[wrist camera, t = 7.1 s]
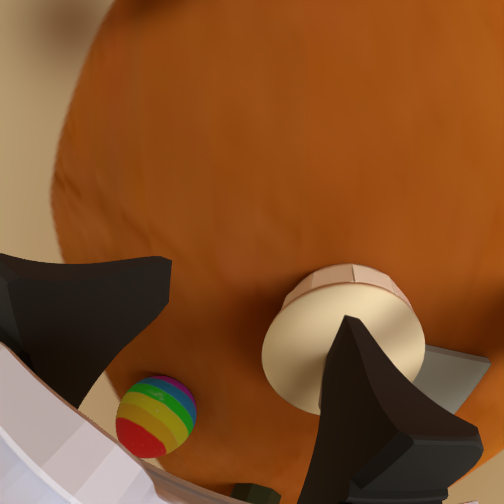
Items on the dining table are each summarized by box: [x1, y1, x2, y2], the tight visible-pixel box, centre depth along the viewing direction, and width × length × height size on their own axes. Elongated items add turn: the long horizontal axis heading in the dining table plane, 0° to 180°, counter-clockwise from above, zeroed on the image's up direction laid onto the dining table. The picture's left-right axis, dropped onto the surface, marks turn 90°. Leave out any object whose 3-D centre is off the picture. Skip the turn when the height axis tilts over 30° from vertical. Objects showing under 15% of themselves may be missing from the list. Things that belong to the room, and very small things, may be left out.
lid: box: [262, 282, 425, 415], centre depth 15 cm, size 11×11×4 cm
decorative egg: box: [116, 376, 197, 458], centre depth 24 cm, size 8×8×10 cm
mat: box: [412, 344, 491, 415], centre depth 20 cm, size 12×12×1 cm
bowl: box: [281, 263, 413, 310], centre depth 19 cm, size 10×10×4 cm
